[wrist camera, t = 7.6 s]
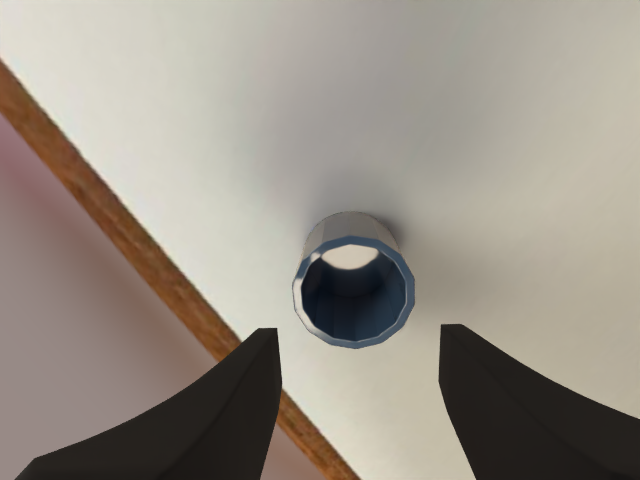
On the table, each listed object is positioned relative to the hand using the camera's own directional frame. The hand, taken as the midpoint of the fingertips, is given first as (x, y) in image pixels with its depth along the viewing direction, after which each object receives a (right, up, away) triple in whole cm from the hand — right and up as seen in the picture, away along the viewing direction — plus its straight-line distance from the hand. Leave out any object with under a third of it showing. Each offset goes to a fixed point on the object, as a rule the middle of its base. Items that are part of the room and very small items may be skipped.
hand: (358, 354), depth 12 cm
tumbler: (0, +3, +9) cm, 9 cm away
